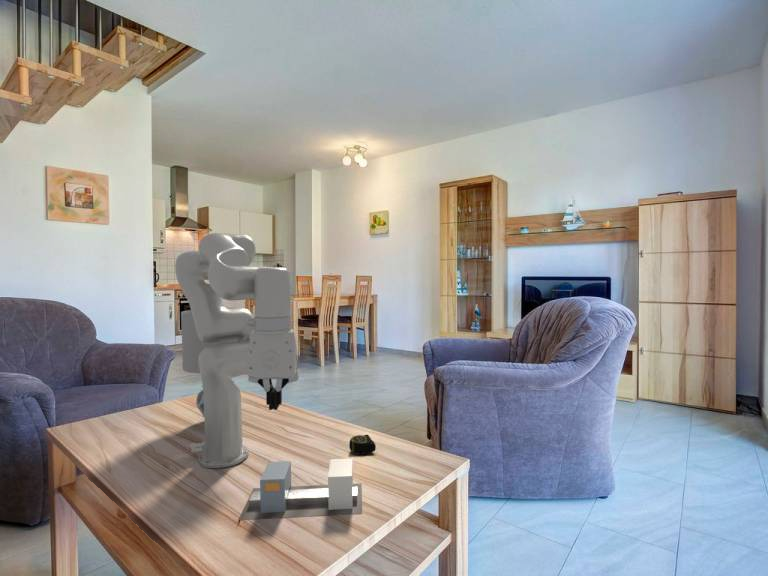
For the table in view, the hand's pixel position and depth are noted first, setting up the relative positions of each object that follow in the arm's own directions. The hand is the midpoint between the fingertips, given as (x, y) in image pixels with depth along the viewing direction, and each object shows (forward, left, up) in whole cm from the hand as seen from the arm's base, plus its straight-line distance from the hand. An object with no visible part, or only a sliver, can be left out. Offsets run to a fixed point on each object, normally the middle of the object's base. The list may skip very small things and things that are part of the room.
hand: (274, 407), depth 89 cm
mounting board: (+6, -1, -21) cm, 22 cm away
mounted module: (+14, -1, -20) cm, 25 cm away
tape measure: (+20, +25, -22) cm, 38 cm away
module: (0, -1, -20) cm, 20 cm away
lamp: (-30, +52, -22) cm, 64 cm away
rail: (+6, -1, -21) cm, 22 cm away
